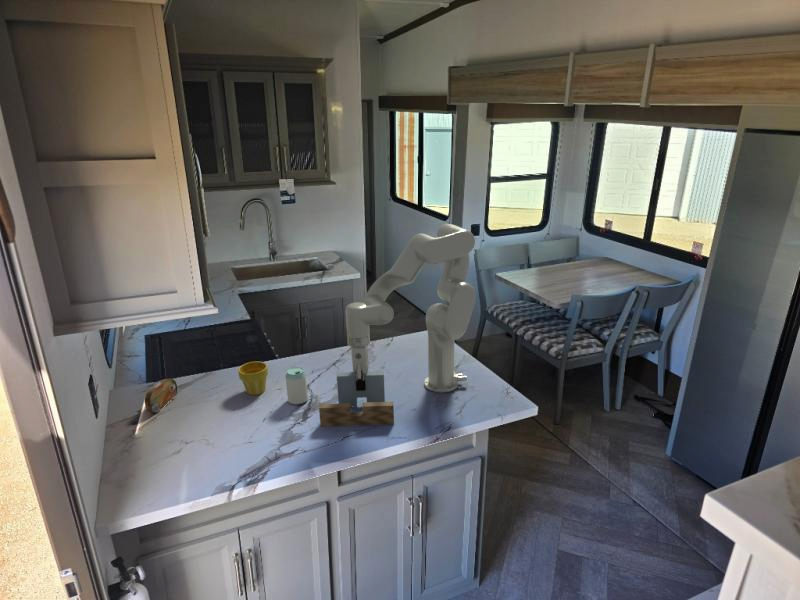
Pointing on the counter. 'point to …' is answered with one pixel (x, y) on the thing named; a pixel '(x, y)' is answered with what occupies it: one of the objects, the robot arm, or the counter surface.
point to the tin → (160, 395)
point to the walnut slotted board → (356, 414)
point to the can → (296, 385)
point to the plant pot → (253, 377)
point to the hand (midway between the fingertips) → (361, 387)
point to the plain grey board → (350, 395)
